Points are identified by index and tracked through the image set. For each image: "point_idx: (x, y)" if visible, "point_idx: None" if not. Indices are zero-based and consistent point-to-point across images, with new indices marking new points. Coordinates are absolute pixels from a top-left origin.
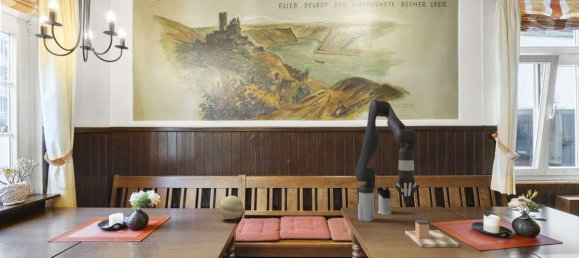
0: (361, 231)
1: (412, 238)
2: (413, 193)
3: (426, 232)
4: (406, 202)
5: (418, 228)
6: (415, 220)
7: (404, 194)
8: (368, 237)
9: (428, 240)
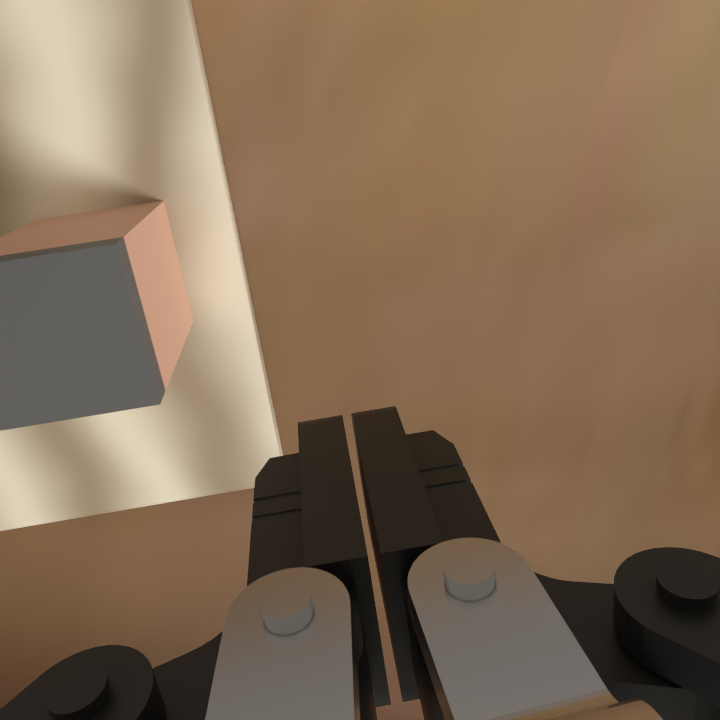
0: (716, 482)
1: (241, 259)
2: (22, 717)
3: (43, 229)
4: (374, 414)
5: (146, 253)
6: (160, 399)
7: (532, 587)
8: (708, 297)
9: (52, 128)
